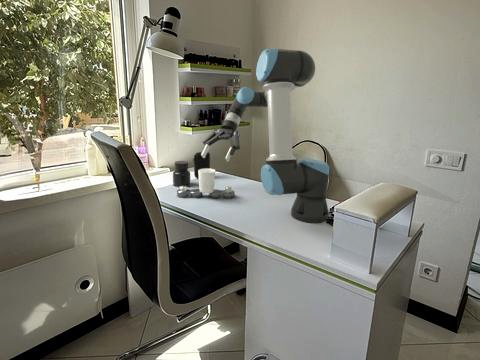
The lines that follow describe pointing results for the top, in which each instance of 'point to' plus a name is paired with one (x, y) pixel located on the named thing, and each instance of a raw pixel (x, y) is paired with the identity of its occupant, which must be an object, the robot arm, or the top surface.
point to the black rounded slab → (201, 162)
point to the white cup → (206, 180)
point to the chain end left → (188, 192)
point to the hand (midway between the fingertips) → (214, 158)
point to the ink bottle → (181, 174)
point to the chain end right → (223, 193)
